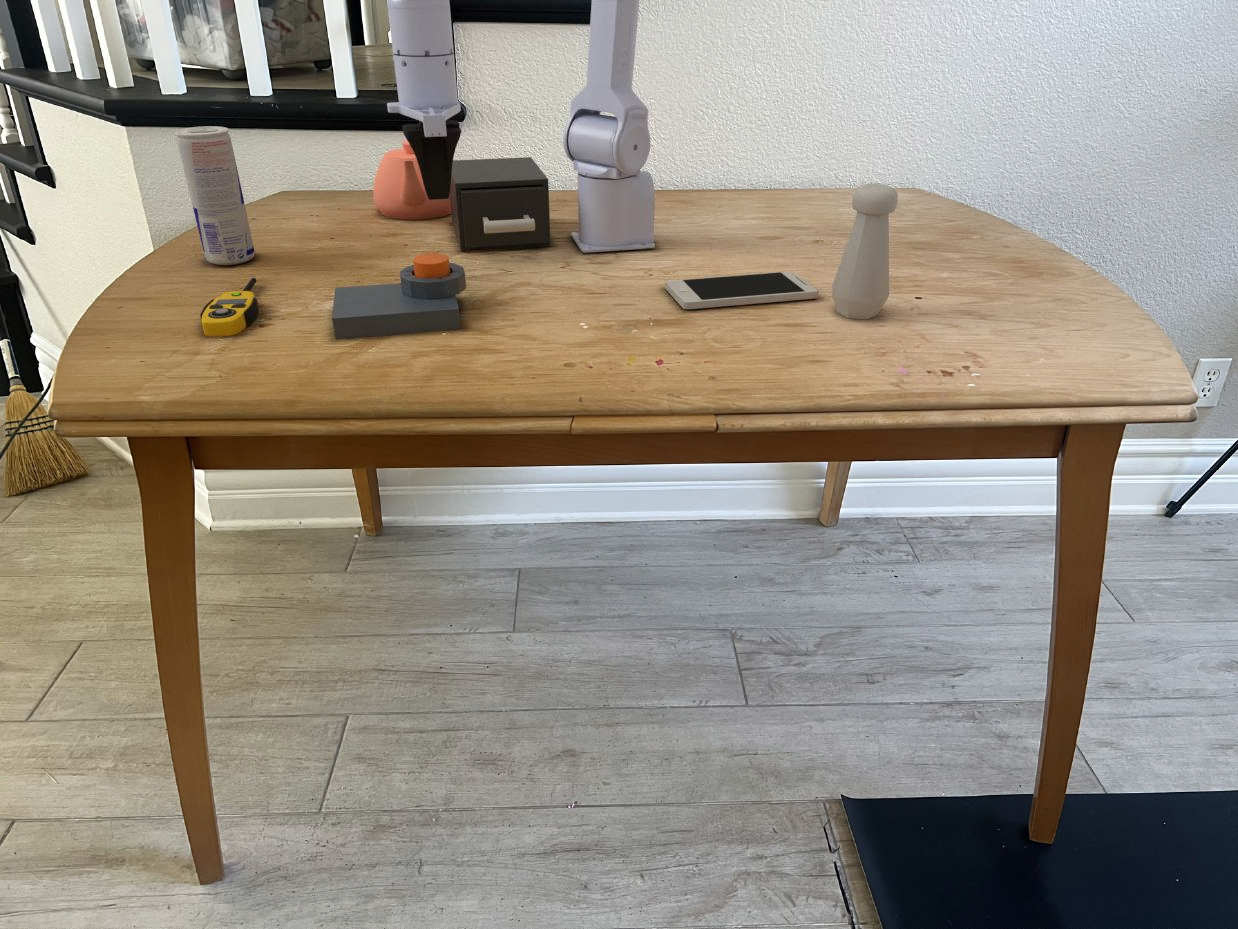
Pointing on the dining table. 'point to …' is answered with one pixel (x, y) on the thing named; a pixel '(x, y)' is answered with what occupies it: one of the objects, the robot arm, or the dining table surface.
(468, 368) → the dining table surface
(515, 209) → the pull-out drawer
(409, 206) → the teapot
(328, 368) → the dining table surface
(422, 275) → the button
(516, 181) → the small drawer cabinet
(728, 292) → the smartphone
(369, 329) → the block
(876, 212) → the salt shaker
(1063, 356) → the dining table surface
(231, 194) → the beverage can
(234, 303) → the yellow walkie talkie
